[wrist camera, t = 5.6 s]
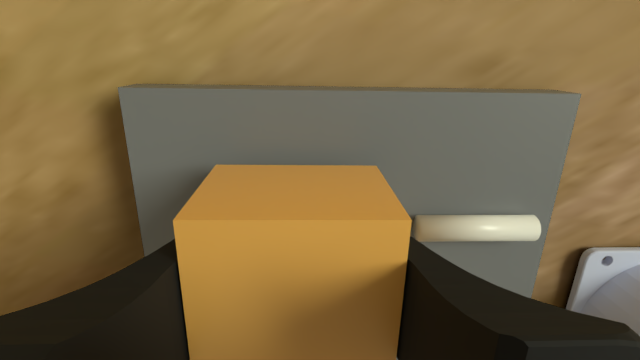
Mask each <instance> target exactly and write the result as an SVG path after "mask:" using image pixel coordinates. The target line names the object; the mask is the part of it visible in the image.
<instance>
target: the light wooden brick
mask: <svg viewBox="0 0 640 360" xmlns="http://www.w3.org/2000/svg"><path fill="white" fill-rule="evenodd" d="M411 223H412V220H411V218H410V217H409V215H408V213H407V212H406V210H405V209H404V207H403V206H402V204H401V203H400V201H399V200H398V198H397V197H396V195H395V193H394V192H393V190H392V189H391V187H390V186H389V184H388V183H387V181H386V180H385V178H384V176H383V175H382V173H381V172H380V170H379V169H378V167H377V166H363V165H215V166H214V168H213V169H212V170H211V172H210V173H209V174H208V176H207V177H206V178H205V179H204V181H203V182H202V183H201V185H200V186H199V187H198V188H197V190H196V191H195V192H194V194H193V195H192V196H191V198H190V199H189V200H188V201H187V203H186V204H185V205H184V207H183V208H182V209H181V210H180V212H179V213H178V214H177V216H176V217H175V218H174V220H173V226H174V234H175V242H176V250H177V258H178V267H179V275H180V283H181V291H182V299H183V307H184V315H185V323H186V331H187V340H188V348H189V356H190V360H396V356H397V347H398V339H399V330H400V321H401V312H402V303H403V294H404V285H405V276H406V267H407V258H408V250H409V241H410V232H411Z"/></svg>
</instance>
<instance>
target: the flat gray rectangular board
mask: <svg viewBox="0 0 640 360" xmlns="http://www.w3.org/2000/svg"><path fill="white" fill-rule="evenodd" d="M118 92H119V98H120V105H121V111H122V117H123V124H124V130H125V136H126V142H127V149H128V155H129V161H130V168H131V174H132V180H133V186H134V193H135V199H136V205H137V212H138V218H139V224H140V230H141V237H142V243H143V249H144V256H145V257H146V256H147V255H149V254H151V253H152V252H154V251H156V250H157V249H159V248H161V247H162V246H164V245H165V244H167V243H169V242H170V241H172V240H173V239H175V234H174V226H173V220H174V218H175V217H176V216H177V214H178V213H179V212H180V210H181V209H182V208H183V207H184V205H185V204H186V203H187V201H188V200H189V199H190V198H191V196H192V195H193V194H194V192H195V191H196V190H197V188H198V187H199V186H200V185H201V183H202V182H203V181H204V179H205V178H206V177H207V176H208V174H209V173H210V172H211V170H212V169H213V168H214V166H215V165H363V166H377V167H378V169H379V170H380V172H381V173H382V175H383V176H384V178H385V180H386V181H387V183H388V184H389V186H390V187H391V189H392V190H393V192H394V193H395V195H396V197H397V198H398V200H399V201H400V203H401V204H402V206H403V207H404V209H405V210H406V212H407V213H408V215H409V217H410V218H411V220H412V223H411V232H410V236H411V237H413V238H414V239H416V240H417V241H419V242H420V243H422V244H423V245H425V246H426V247H427V248H429V249H430V250H432V251H434V252H435V253H437V254H438V255H440V256H441V257H443V258H445V259H446V260H448V261H450V262H451V263H453V264H455V265H456V266H458V267H460V268H462V269H463V270H465V271H467V272H469V273H471V274H473V275H475V276H477V277H479V278H482V279H484V280H486V281H488V282H490V283H492V284H494V285H497V286H499V287H502V288H504V289H507V290H509V291H512V292H515V293H517V294H520V295H522V296H525V297H528V298H531V296H532V292H533V288H534V284H535V280H536V275H537V271H538V267H539V263H540V259H541V255H542V251H543V247H544V243H545V239H546V235H547V231H548V227H549V223H550V219H551V215H552V211H553V207H554V202H555V198H556V194H557V190H558V186H559V182H560V178H561V174H562V170H563V166H564V162H565V158H566V154H567V150H568V146H569V142H570V138H571V134H572V129H573V125H574V121H575V117H576V113H577V109H578V105H579V101H580V97H581V94H578V93H572V92H565V91H558V90H532V89H462V88H393V87H324V86H255V85H186V84H133V85H128V86H123V87H118ZM396 360H398V359H397V356H396Z"/></svg>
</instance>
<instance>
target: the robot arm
mask: <svg viewBox="0 0 640 360" xmlns="http://www.w3.org/2000/svg"><path fill="white" fill-rule="evenodd" d="M605 257H606V258H605ZM603 258H605V259H604V260H603ZM397 359H398V360H640V247H605V248H589V249H587V250H585V251H584V252H583V253H582V255H581V257H580V261H579V264H578V268H577V271H576V275H575V278H574V282H573V285H572V289H571V292H570V296H569V299H568V303H567V306H566V309H563V308H560V307H556V306H553V305H550V304H546V303H543V302H540V301H537V300H534V299H531V298H528V297H525V296H522V295H520V294H517V293H515V292H512V291H509V290H507V289H504V288H502V287H499V286H497V285H494V284H492V283H490V282H488V281H486V280H484V279H482V278H479V277H477V276H475V275H473V274H471V273H469V272H467V271H465V270H463V269H462V268H460V267H458V266H456V265H455V264H453V263H451V262H450V261H448V260H446V259H445V258H443V257H441V256H440V255H438V254H437V253H435V252H434V251H432V250H430V249H429V248H427V247H426V246H425V245H423V244H422V243H420V242H419V241H417V240H416V239H414V238H413V237H411V236H410V241H409V250H408V258H407V267H406V276H405V285H404V294H403V303H402V312H401V321H400V330H399V339H398V347H397ZM0 360H190V356H189V348H188V340H187V331H186V323H185V315H184V307H183V299H182V291H181V283H180V275H179V267H178V258H177V250H176V242H175V239H173V240H172V241H170V242H169V243H167V244H165V245H164V246H162V247H161V248H159V249H157V250H156V251H154V252H152V253H151V254H149V255H147V256H146V257H144V258H142V259H140V260H138V261H137V262H135V263H133V264H131V265H130V266H128V267H126V268H124V269H122V270H120V271H119V272H117V273H115V274H113V275H110V276H108V277H106V278H104V279H102V280H100V281H98V282H95V283H93V284H91V285H89V286H86V287H84V288H81V289H79V290H76V291H73V292H71V293H68V294H66V295H63V296H60V297H58V298H55V299H52V300H50V301H47V302H44V303H41V304H38V305H35V306H32V307H29V308H26V309H22V310H19V311H16V312H12V313H9V314H5V315H2V316H0Z"/></svg>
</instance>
